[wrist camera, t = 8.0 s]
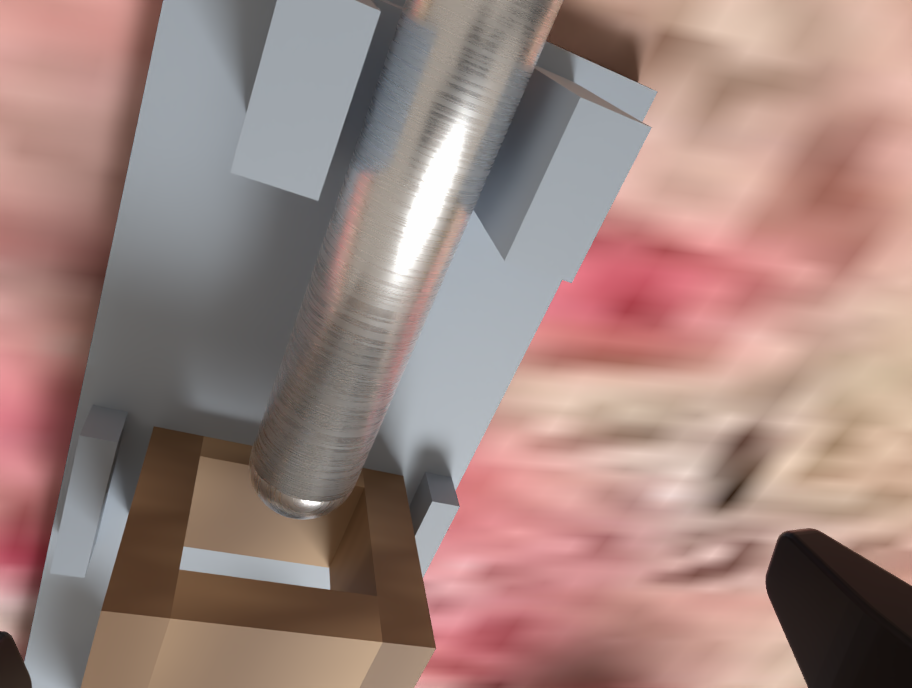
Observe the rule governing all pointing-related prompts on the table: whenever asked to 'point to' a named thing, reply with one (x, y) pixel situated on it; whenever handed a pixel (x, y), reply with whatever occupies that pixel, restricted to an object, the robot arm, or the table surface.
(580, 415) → the table surface
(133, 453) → the rail
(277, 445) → the shaft
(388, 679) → the frame
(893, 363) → the table surface
